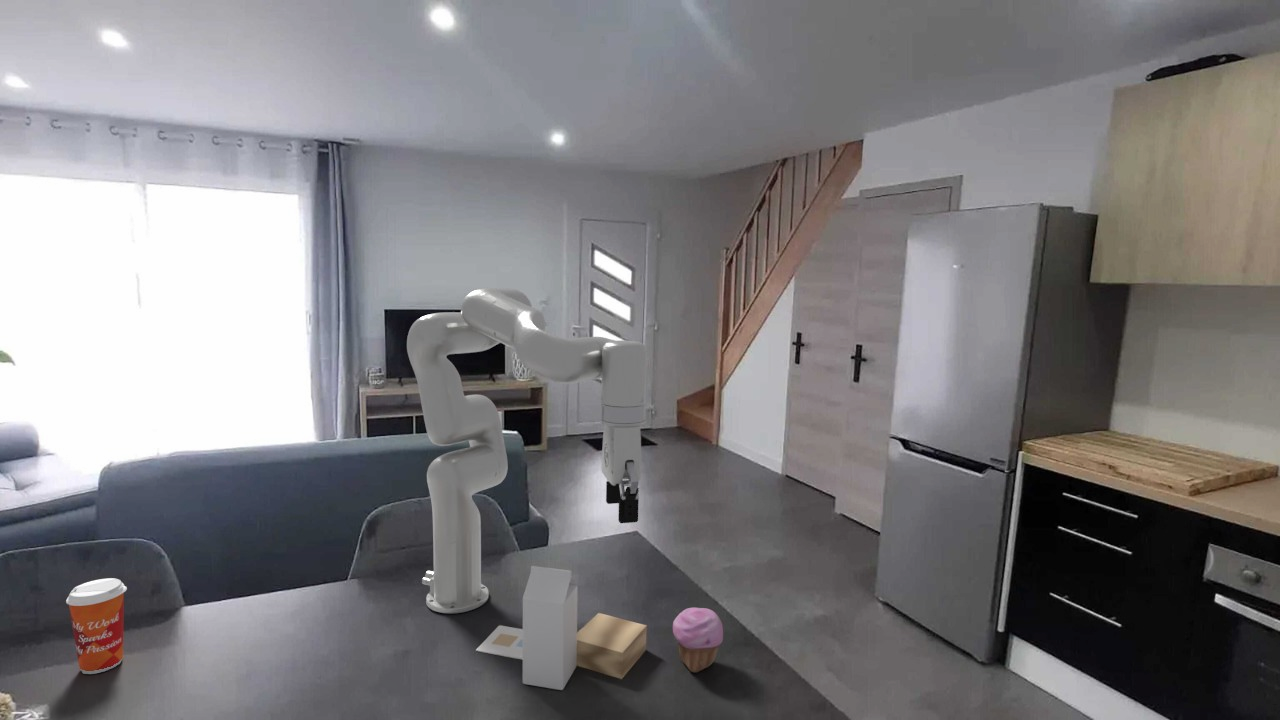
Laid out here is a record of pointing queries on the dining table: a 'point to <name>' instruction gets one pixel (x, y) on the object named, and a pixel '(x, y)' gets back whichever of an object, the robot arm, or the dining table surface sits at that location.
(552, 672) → the milk carton
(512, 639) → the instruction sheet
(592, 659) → the oak brick
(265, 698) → the dining table surface
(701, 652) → the cupcake
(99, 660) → the paper cup
